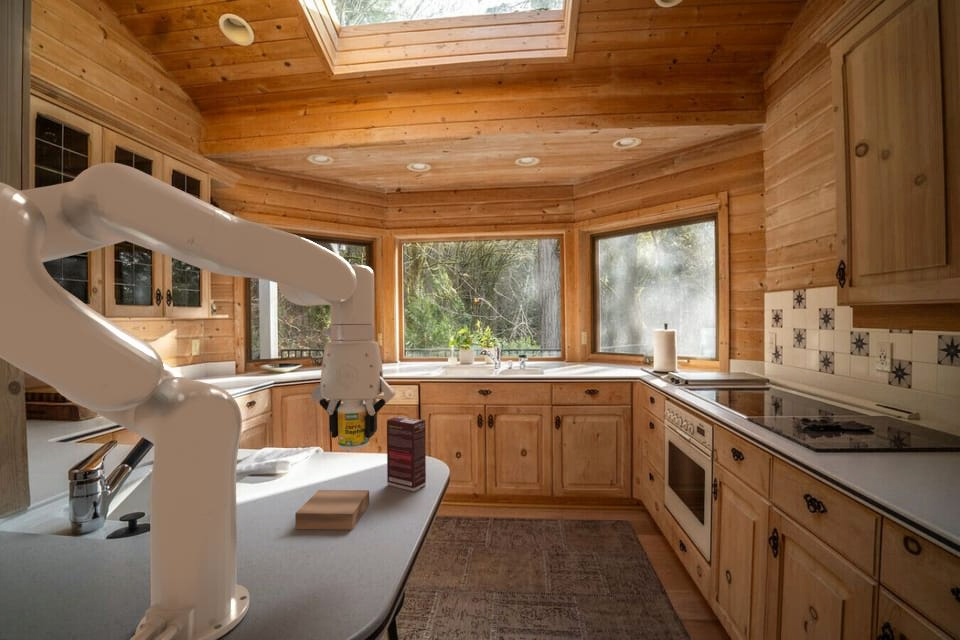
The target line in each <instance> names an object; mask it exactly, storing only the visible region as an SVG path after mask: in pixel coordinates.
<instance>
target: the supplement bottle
mask: <svg viewBox="0 0 960 640" xmlns="http://www.w3.org/2000/svg"><path fill="white" fill-rule="evenodd" d="M367 415H368V410H367V407H366V404H365V401H364V400H342V402H341V405H340V406H339V407H338V436H337V445H338V448H339V449H341V450H345V451H356V450H362V449H365V448H367V447H368V446H369V445H370V438H366V437H365V417H366V416H367Z"/></svg>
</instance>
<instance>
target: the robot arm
mask: <svg viewBox="0 0 960 640" xmlns="http://www.w3.org/2000/svg"><path fill="white" fill-rule="evenodd" d="M123 242H128V243H132V244H134V245H136V246H139V247H142V248H144V249H147V250H151V251H154V252H156V253H159V254H162V255H164V256H167V257H169V258H172V259H175V260H178V261H179V262H180V261H181V262H183V263H185V264H188V265H189V266H193V267H196V268H198V269H201V270H204V271H206V272H210V273H213V274H218V275H221V276H222V275H223V276H228V277H229V276H230V277H236V278H238V277H239V278H249V279H250V278H252V279H258V280H264V281H267V282H273V283H276V284H278V289H279V292H280V293H281V295H282V296H283V297H284V299H286V300H287V301H288V302H290V303H292V304H294V305H297V306H302V307H303V306H305V307H306V306H307V307H309V306H310V307H312V306H314V307H315V306H323V305H324V306H330V324H329V327H326V328H323V330H322V332H323V333H322V334H323V336H328V337H329V340H330V341H329V342H325V345H324V350H323V356H322V364H321V372H320V373H321V375H320V383H319V384H318V385H317V386H316V387H315V388H314V389H313V390H312V392H311V393H310V395H311V397H312V398H313V400H315V401H316V402H317V403H318V404H319V405H320V406H321V408H323V410H325V411H326V414H327V415H328V416H329V432H331V438H332V439H335V438H338V407H339V406H340V405H341V404H342V403H343V402H342V400H364V401H363V402H364V403H365V404H366V407H367V410H368V415H367V416H366V417H365V437H366V438H369V439H371V438H372V437H373V436H374V435H375V433H376V432H377V431H378V412H380V410H381V409H382V408H383V407H384V406H385V405H386V404H387V403H388V402H390V400H392V399H394V397H395V396H396V392H395V391H394V390H393V388H392V387H391V386H390V385H389V384H388V383H387V381H386V380H385V379H384V373H383V372H384V369H383V362H382V355H381V350H380V345H379V344H380V343H379V341H376V340H375V339H376V338H375V337H376V335H375V334H376V333H375V327H376V325H375V324H376V323H375V273H374V270H373V269H372V267H370V266H367V265H364V264H350V263H349V262H348V261H347V260H346V259H345V258H343V256H340V255H338V254H337V253H335V252H334V251H332V250H329V249H327V248H326V247H323V246H322V245H321V244H317V243H316V242H313V241H312V240H310V239H307V238H305V237H302V236H299V235H296V234H294V233H291V232H287V231H284V230H281V229H277V228H274V227H271V226H268V225H264V224H261V223H258V222H255V221H252V220H247V219H244V218H240V217H239V216H235V215H233V214H231V213H229V212H227V211H225V210H222V209H221V208H219V207H216V206H214V205H213V204H211V203H208V202H206V201H204V200H203V199H199V198H197V197H196V196H194V195H192V194H190V193H188V192H186V191H183V190H181V189H179V188H177V187H175V186H172V185H171V184H169V183H167V182H165V181H162V180H161V179H158V178H156V177H154V176H152V175H150V174H148V173H145V172H144V171H142V170H140V169H137V168H135V167H132V166H129V165H126V164H122V163H118V162H103V163H102V162H101V163H97V164H95V165H92V166H90V167H88V168H87V169H85V170H83V171H81V172H80V173H79V174H77V176H76V177H75V178H74V179H73V180H71V181H68V182H62V183H57V184H53V185H47V186H41V187H40V186H39V187H35V188H30V189H29V188H27V189H23V190H19V189H17V188H15V187H13V186H11V185H9V184H6V183H4V182H1V181H0V359H2V360H4V361H5V362H7V363H9V364H11V365H12V366H13V367H15V368H17V369H19V370H21V371H23V372H25V373H26V374H28V375H30V376H32V377H33V378H36V379H38V380H39V381H41V382H43V383H45V384H46V385H49V386H50V387H52V388H54V389H55V390H56V392H57V393H59V394H60V395H61V396H62V397H64V398H65V399H67V400H68V401H70V402H71V403H74V404H76V405H78V406H79V407H83V408H86V409H87V410H89V411H91V412H93V413H95V414H97V415H99V416H101V417H103V418H105V419H107V420H108V421H110V422H112V423H114V424H116V425H118V426H120V427H122V428H124V429H125V430H128V431H130V432H132V433H134V434H136V435H138V436H139V437H142V438H143V439H145V440H147V441H149V442H150V443H152V444H153V451H154V452H153V461H152V462H153V464H152V470H151V475H150V483H149V484H150V485H149V487H150V488H149V489H150V490H149V517H150V518H149V519H150V520H149V521H150V523H149V525H150V526H149V527H150V534H149V536H150V540H149V541H150V542H149V543H150V607H149V608H148V609H146V610H145V615H144V616H143V617H142V618H141V620H140V621H139V622H138V625H137V626H136V629H135V633H134V635H133V636H132V637H131V638H130V639H129V640H218V639H219V638H221V637H223V636H224V635H226V634H227V633H228V632H230V631H231V630H233V628H235V627H236V626H237V625H238V624H240V622H241V621H243V618H244V617H246V614H247V612H248V611H249V607H250V604H251V602H250V601H251V598H250V597H251V595H250V593H249V590H248V589H247V588H246V587H245V586H243V585H241V584H238V577H237V576H238V575H237V573H238V572H237V570H238V566H237V565H238V561H237V558H238V555H237V553H238V552H237V548H238V547H237V545H238V544H237V543H238V541H237V540H238V539H237V535H238V534H237V533H238V532H237V531H238V530H237V528H238V527H237V517H238V516H237V513H238V512H237V466H238V465H237V464H238V454H239V447H240V444H241V443H240V442H241V437H242V427H243V419H242V418H243V417H242V413H241V409H240V406H239V404H238V402H237V400H236V399H235V398H234V397H233V395H231V394H230V393H229V392H228V391H226V390H225V389H224V388H221V387H219V386H217V385H214V384H211V383H208V382H203V381H198V380H193V379H191V378H189V377H187V376H185V375H184V374H182V373H181V372H180V371H178V370H177V369H174V368H173V367H171V366H170V365H169V364H167V363H165V362H164V361H163V360H162V358H161V356H160V354H159V353H158V352H157V351H156V348H154V347H153V346H152V345H151V344H149V343H148V342H146V341H145V340H143V339H142V338H140V337H138V336H136V335H135V334H132V333H131V332H129V331H127V330H125V329H124V328H122V327H121V326H119V325H118V324H116V323H115V322H113V321H111V320H110V319H108V318H107V317H105V316H104V315H102V314H101V313H99V312H98V311H96V310H94V309H93V308H91V307H90V306H88V305H87V304H86V303H85V302H83V301H82V300H80V299H79V298H78V297H76V296H75V295H73V293H71V292H69V291H68V290H66V289H65V288H63V287H62V286H61V285H60V284H59V283H58V282H57V281H56V280H54V278H53V277H52V276H51V275H50V273H48V271H47V269H46V268H45V265H44V263H46V262H50V261H54V260H58V259H62V258H67V257H70V256H71V257H72V256H75V255H79V254H83V253H88V252H91V251H95V250H99V249H102V248H106V247H109V246H113V245H115V244H116V245H117V244H119V243H123ZM382 393H383V396H382V397H381V398H380V399H378V398H377V396H379V395H381V394H382ZM377 399H378V400H377Z"/></svg>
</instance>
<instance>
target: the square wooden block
mask: <svg viewBox="0 0 960 640" xmlns="http://www.w3.org/2000/svg"><path fill="white" fill-rule="evenodd" d="M369 505H370V490H369V489H367V490H366V489H356V490H355V489H354V490H353V489H352V490H349V489H318V490H317V491H316V492H315V493H314V494H313V495H312V496H311V497H310V498H309V499H308V500H307V501H306V502H305V503H304V504H303V505H302V506H301V507H300V508H298V510H297V511H296V512H295V518H294V519H295V523H294V524H295V529H296V530H348V531H349V530H354V529H355V527H356V525H357V523H358V522H359V521H360V519H361V517H362V516H363V515H364V513H365V512H366V510H367V508H368V507H369Z"/></svg>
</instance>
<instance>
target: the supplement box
mask: <svg viewBox="0 0 960 640" xmlns="http://www.w3.org/2000/svg"><path fill="white" fill-rule="evenodd" d="M426 446H427V445H426V420H425V419H421V418H419V419H418V418H414V417H406V416H400V415H399V416H395V417H392V418H388V419H386V459H387V460H386V468H387V469H386V470H387V471H386V473H387V475H386V476H387V477H386V479H387V480H386V483H387V486H391V487H395V488H398V489H402V490H407V491H410V492H416V491H418V490H420V489H422V488H424V487H425V486H426V484H427V481H426V480H427V479H426V478H427V471H426V470H427V469H426V467H427V466H426V465H427V464H426V463H427V462H426V453H427V452H426ZM423 486H424V487H423ZM421 487H422V488H421Z"/></svg>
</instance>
